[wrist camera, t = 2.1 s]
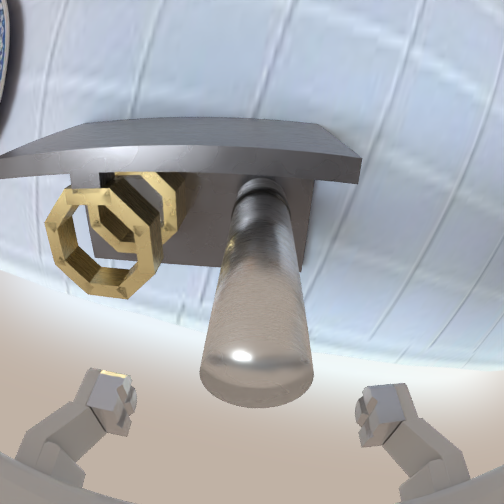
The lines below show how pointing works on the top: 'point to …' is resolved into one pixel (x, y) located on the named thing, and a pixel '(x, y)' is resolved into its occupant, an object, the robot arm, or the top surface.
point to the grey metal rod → (258, 307)
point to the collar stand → (171, 188)
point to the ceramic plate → (4, 42)
